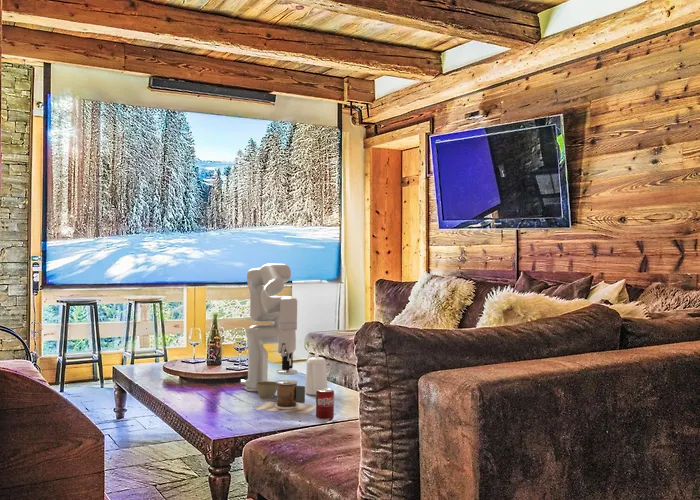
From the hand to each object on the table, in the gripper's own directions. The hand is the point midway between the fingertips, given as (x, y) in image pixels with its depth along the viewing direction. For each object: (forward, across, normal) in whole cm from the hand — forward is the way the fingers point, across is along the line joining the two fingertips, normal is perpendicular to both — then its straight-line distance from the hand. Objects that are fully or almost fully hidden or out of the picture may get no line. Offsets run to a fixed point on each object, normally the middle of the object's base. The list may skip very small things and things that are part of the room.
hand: (287, 368), depth 284 cm
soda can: (+18, +10, +20) cm, 29 cm away
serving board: (+18, 0, 0) cm, 18 cm away
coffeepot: (+18, -36, +2) cm, 40 cm away
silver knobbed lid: (+2, 0, 0) cm, 2 cm away
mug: (+17, 0, +2) cm, 17 cm away
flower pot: (+18, -18, -16) cm, 30 cm away
